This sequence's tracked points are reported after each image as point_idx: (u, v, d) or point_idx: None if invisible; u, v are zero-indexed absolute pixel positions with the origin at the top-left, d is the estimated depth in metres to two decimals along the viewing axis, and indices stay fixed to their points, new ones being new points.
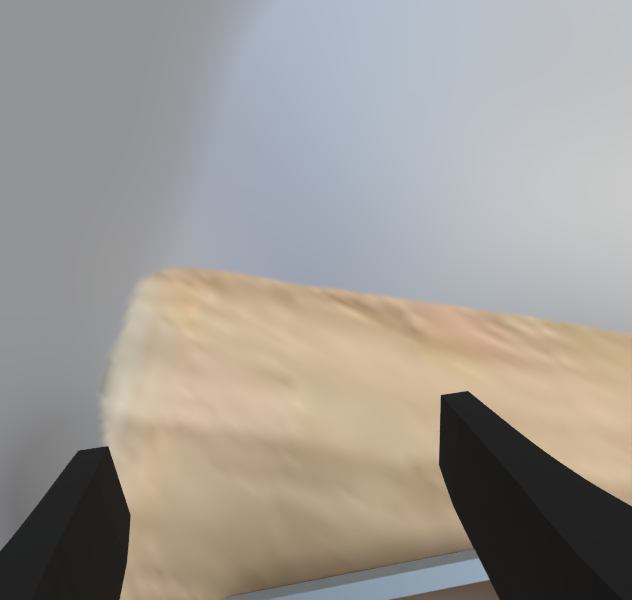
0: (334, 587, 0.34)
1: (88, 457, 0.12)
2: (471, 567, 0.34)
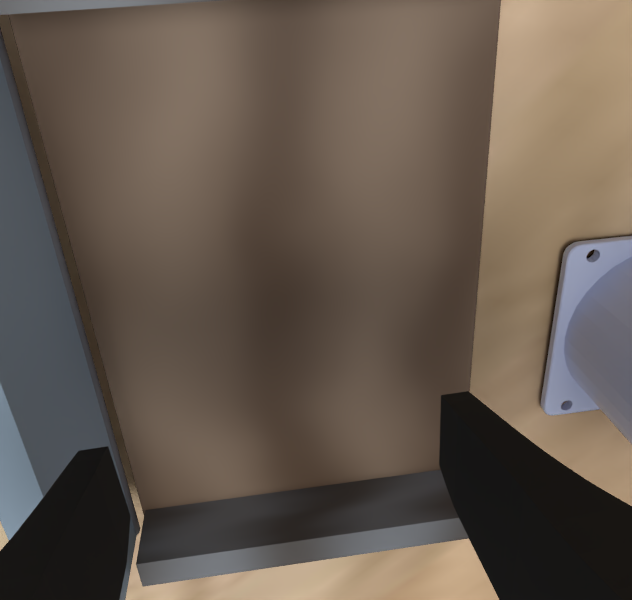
0: (5, 524, 0.15)
1: (88, 457, 0.12)
2: None
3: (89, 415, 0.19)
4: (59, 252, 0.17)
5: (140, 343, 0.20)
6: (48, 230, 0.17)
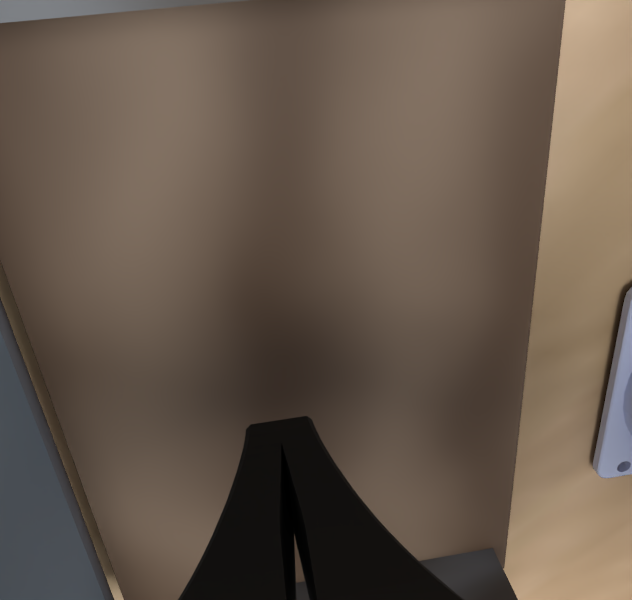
0: None
1: (265, 429, 0.12)
2: None
3: (53, 525, 0.15)
4: (5, 329, 0.14)
5: (116, 429, 0.16)
6: None
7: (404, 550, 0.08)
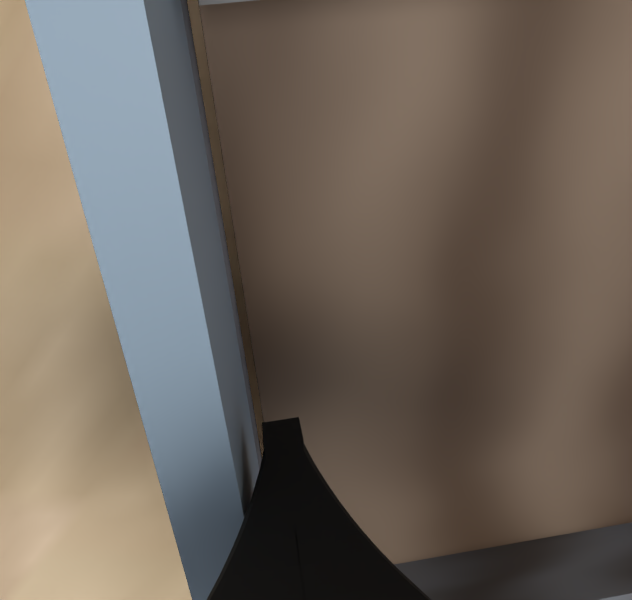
0: None
1: (286, 426, 0.12)
2: (141, 302, 0.08)
3: None
4: (234, 298, 0.14)
5: (309, 399, 0.17)
6: (226, 273, 0.14)
7: (380, 554, 0.08)
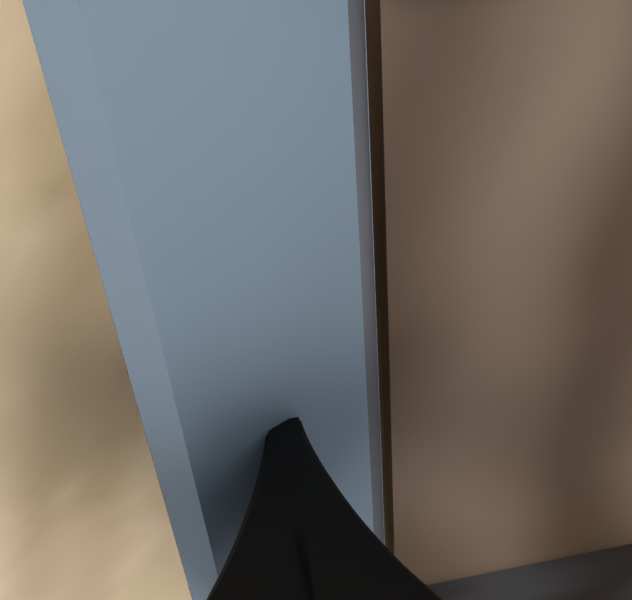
0: (192, 590, 0.13)
1: (286, 426, 0.12)
2: (112, 267, 0.09)
3: (347, 491, 0.15)
4: (367, 298, 0.14)
5: (440, 402, 0.16)
6: (358, 270, 0.13)
7: (388, 553, 0.08)
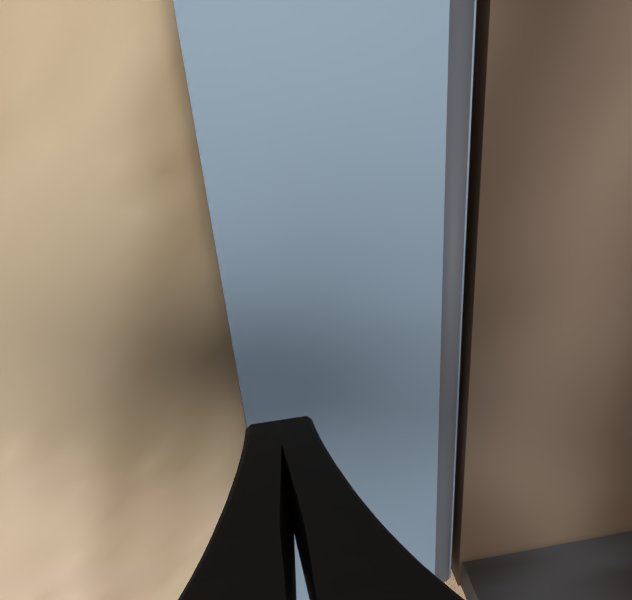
0: None
1: (265, 429, 0.12)
2: None
3: (402, 434, 0.17)
4: (447, 269, 0.15)
5: (516, 376, 0.17)
6: (440, 241, 0.14)
7: (404, 550, 0.08)
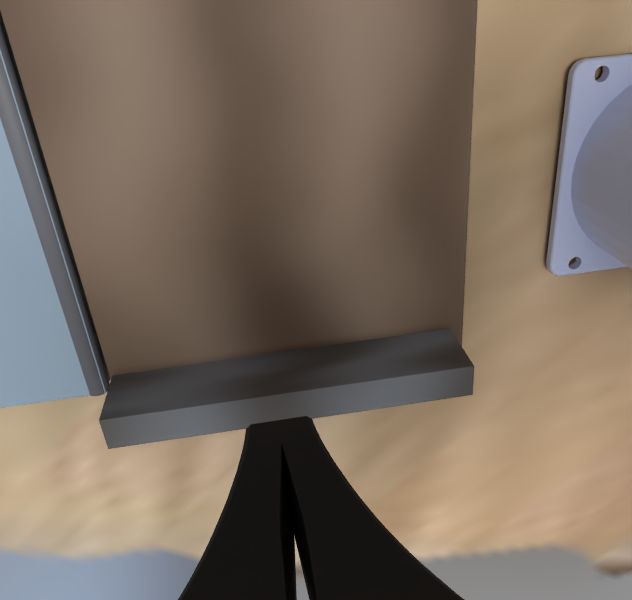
0: None
1: (265, 429, 0.12)
2: None
3: None
4: None
5: (94, 162, 0.18)
6: None
7: (404, 550, 0.08)
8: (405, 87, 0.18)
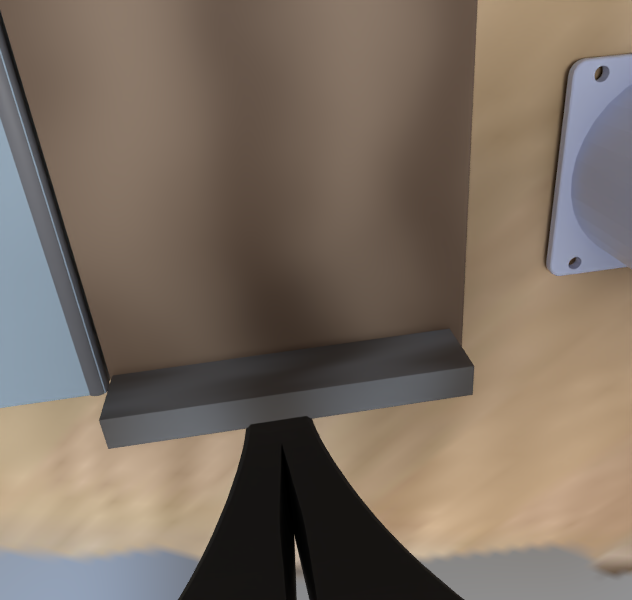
0: None
1: (265, 429, 0.12)
2: None
3: None
4: None
5: (94, 162, 0.18)
6: None
7: (404, 550, 0.08)
8: (405, 87, 0.18)
